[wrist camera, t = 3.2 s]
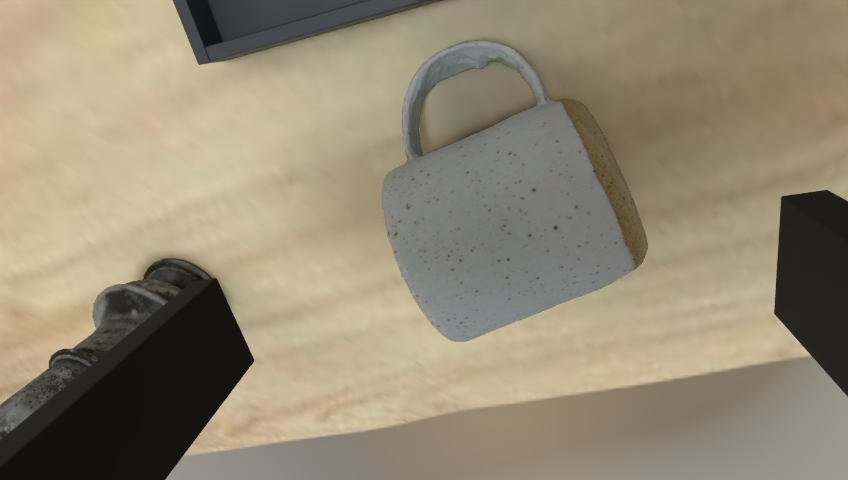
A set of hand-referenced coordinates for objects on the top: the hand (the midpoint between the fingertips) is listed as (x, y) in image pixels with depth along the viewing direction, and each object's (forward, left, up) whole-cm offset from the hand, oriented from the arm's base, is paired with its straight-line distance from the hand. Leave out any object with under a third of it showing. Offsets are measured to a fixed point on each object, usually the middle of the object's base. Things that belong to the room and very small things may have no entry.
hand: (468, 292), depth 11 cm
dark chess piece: (+20, +5, -12) cm, 24 cm away
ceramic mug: (0, 0, -12) cm, 12 cm away
